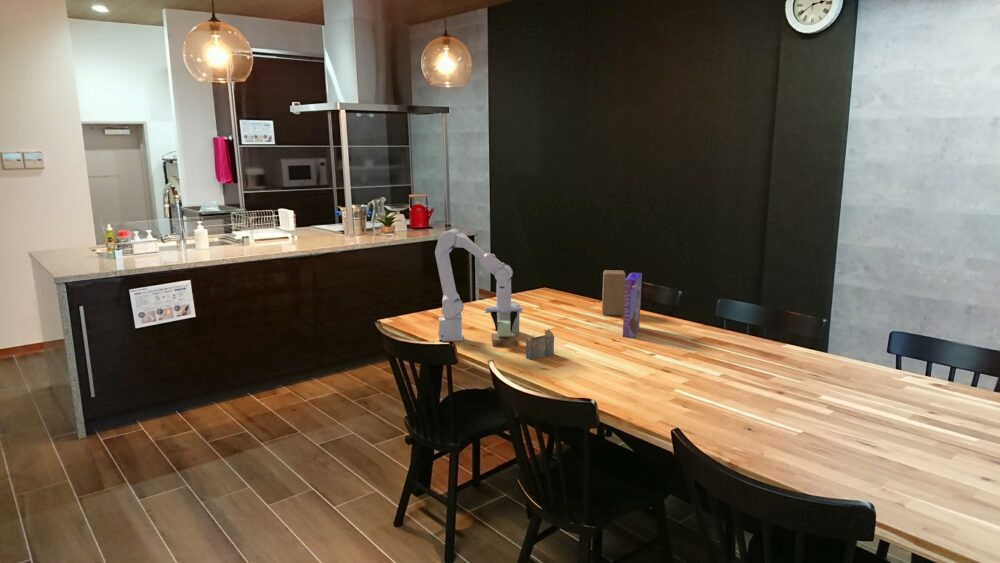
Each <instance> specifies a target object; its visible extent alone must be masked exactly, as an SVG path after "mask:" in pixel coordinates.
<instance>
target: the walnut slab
mask: <svg viewBox="0 0 1000 563" xmlns="http://www.w3.org/2000/svg"><path fill="white" fill-rule="evenodd" d="M491 342H492V343H491V344H492V346H493V347H516V346H517V338H516V335H514V333H510V336H497V333H491Z"/></svg>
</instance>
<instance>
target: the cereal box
mask: <svg viewBox="0 0 1000 563" xmlns="http://www.w3.org/2000/svg"><path fill="white" fill-rule="evenodd" d="M642 277H643V273H642V272H630V273H629V274H628V275H627V277H626V279H625V293H624V315H623V316H622V317H623V320H622V322H623V323H622V337H623V338H631V339H634V338H636V336H637V333H638V331H639V329H640V321H641V320H640V319H641V304H642V303H641V302H642V283H643V282H642V279H643V278H642Z"/></svg>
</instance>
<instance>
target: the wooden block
mask: <svg viewBox="0 0 1000 563" xmlns="http://www.w3.org/2000/svg"><path fill="white" fill-rule="evenodd" d="M602 275H603V276H602V295H601V297H602V298H601V300H602V301H601V312H602V315H603V316H615V317H616V316H617V317H619V316H620V317H624V293H625V279H626V278H627V277H626V276H627V274H626V273H625V271H624V270H618V269H616V270H614V269H613V270H611V269H610V270H609V269H604V271H603V273H602Z"/></svg>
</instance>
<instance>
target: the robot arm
mask: <svg viewBox="0 0 1000 563" xmlns="http://www.w3.org/2000/svg"><path fill="white" fill-rule="evenodd" d="M454 248H463V249H465V250H466V251H468V252H469V253H470V254H472V255H473V256H474V257H476V258H477V259H478V260H479V262H480V265H481V266H482V267H483V268H484V269H486V270H487V271H488V272H490V273H491V274H492V275H494V278H495V280H496V305H495V306H485V307H484V313H485V314H490V316H491V318H492V321H493V323H494V327H495V332H497V328H498V327H497V313H503V312H510V324H511V325H510V331H512V327H513V323H514V321H515V319H516V317H517V312H519V314H521V313H523V306H519V307H514V306H511V302H512V277H513V274H514V272H513V269H512V267H511V266H510V265H509V264H506V263H504V262H501V260H499V259H498V258H497V257H496V255H495V254H494V253H491V252H486V251H484V250H482V248H480V247H479V246H478V245H477V244H476V243H475V242H474V241H473V240H472V239H470V238H469V237H468V236H467V235H466V234H465V233H464V232H462V231H461V230H460V229H458V228H451V229H450V230H445V231H442V233H440V235H439V236H438V237H437V243H436V247H435V250H434V255H435V260H436V264H437V270H438V276H439V280H440V285H441V290H442V294H443V295H442V300H441V304H442V307H441V313H442V315H443V316H442V317H441V316H440V317H438V332H437V334H438V341H439V340H442V341H441V342H462V341H464V334H463V321H462V320H463V315H462V312H463V310H464V302H463V301H462V300H461V298H460V294H459V293H458V292H457V288H456V283H455V279H454V274H453V268H452V264H451V259H450V258H451V257H450V253H451V252H452V250H454Z"/></svg>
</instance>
